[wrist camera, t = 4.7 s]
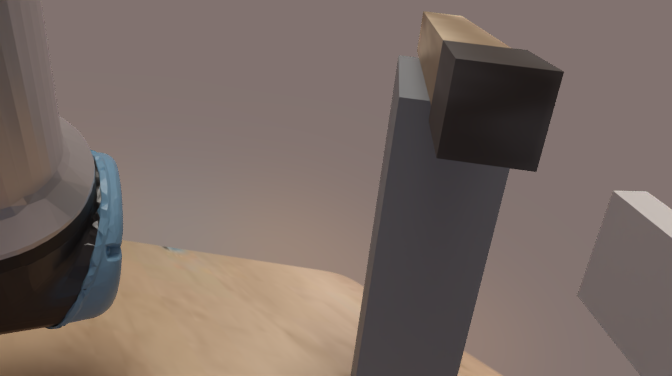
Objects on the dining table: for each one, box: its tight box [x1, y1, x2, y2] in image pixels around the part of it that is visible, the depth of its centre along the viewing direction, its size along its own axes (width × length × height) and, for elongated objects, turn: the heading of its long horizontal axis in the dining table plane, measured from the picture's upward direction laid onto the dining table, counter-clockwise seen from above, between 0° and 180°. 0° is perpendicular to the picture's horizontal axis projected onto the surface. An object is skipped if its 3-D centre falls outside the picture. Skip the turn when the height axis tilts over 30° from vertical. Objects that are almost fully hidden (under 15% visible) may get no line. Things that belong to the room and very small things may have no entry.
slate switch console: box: [351, 56, 510, 376], centre depth 38 cm, size 6×15×30 cm, turn 173°
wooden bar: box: [417, 12, 564, 172], centre depth 29 cm, size 3×26×3 cm, turn 173°
